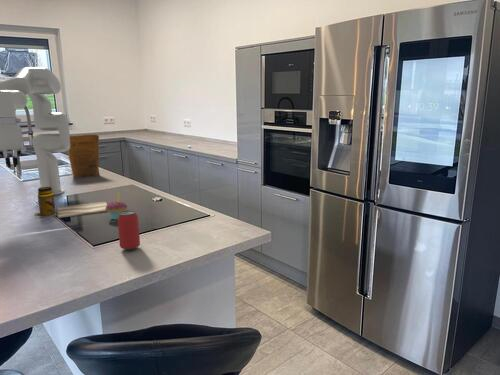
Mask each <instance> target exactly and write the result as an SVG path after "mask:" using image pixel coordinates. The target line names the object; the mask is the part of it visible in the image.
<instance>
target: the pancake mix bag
mask: <svg viewBox="0 0 500 375" xmlns="http://www.w3.org/2000/svg"><path fill="white" fill-rule="evenodd" d="M99 145H100V136H99V134H98V135H97V134H85V135H73V136H72V135H70V149H69V150H68V151H67V155H68V159H69V163H70V169H71V172H72V177H73V178H76V177H78V178H91V177H92V176H93V177H97V176H98V175H99V176H100V175H101V174H100V170H99V166H100V165H99V164H100V163H99V156H100V146H99ZM93 177H92V178H93Z"/></svg>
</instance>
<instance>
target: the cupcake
mask: <svg viewBox="0 0 500 375" xmlns="http://www.w3.org/2000/svg"><path fill="white" fill-rule="evenodd" d="M116 199H117V200H116V201H112V202H109V203H108V204H107V206H106V211H107V212H106V213H108V214H109V216H110V218H111V219H112V220H117V221H118V216H119V212H122V211H126V210H127V209H128V206H127V204H126V203H125V202H123V201H121V200H120V190H118V192H117V198H116Z"/></svg>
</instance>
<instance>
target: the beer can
mask: <svg viewBox="0 0 500 375" xmlns="http://www.w3.org/2000/svg"><path fill="white" fill-rule="evenodd" d="M117 230H118V239H119V247H120V248H121V249H122V250H134V249H136V248H139V246H140V245H141V240H140V227H139V216H138V214H137V211H136V210H134V209H133V210H132V209H130V210H129V209H128V210H127V209H126V210H125V211H122V212H119V216H118V219H117Z"/></svg>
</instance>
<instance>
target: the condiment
mask: <svg viewBox="0 0 500 375" xmlns="http://www.w3.org/2000/svg"><path fill="white" fill-rule="evenodd" d="M38 193H39V194H38ZM54 196H55V195H53V193H52V188H51V187H42V188H41V187H40V188H38V189H37V200H38V208H39V212H36V213H34V219H38V218H39V219H40V218H46V217H53V216H58V213H57V211H56V207H55V197H54ZM56 213H57V214H56Z"/></svg>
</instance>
